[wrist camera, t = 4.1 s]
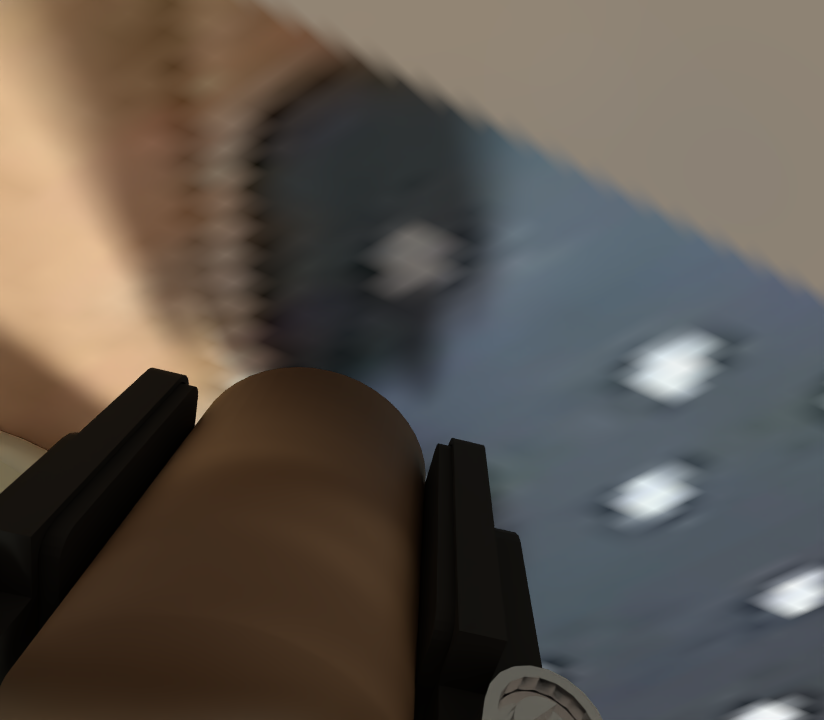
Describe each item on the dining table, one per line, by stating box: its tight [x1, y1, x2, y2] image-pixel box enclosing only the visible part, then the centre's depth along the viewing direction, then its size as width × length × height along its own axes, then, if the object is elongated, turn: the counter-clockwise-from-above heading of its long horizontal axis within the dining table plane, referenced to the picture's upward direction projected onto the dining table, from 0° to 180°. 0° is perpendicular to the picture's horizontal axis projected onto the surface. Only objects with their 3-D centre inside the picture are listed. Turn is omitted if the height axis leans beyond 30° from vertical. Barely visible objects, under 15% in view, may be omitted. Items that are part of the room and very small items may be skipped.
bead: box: [0, 367, 426, 720], centre depth 8 cm, size 4×4×5 cm
